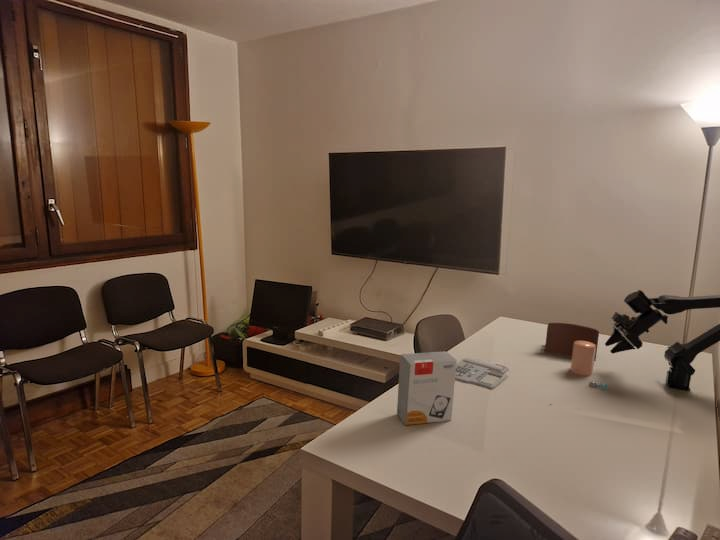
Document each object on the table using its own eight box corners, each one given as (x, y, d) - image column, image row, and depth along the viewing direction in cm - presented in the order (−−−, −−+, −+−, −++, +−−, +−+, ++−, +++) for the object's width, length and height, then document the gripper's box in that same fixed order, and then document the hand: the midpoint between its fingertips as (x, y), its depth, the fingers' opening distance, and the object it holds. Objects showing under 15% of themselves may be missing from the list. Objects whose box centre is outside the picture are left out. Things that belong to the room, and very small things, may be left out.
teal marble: (606, 390, 168) (607, 382, 168) (607, 394, 166) (608, 386, 165) (597, 388, 169) (598, 381, 169) (598, 392, 167) (599, 384, 166)
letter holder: (595, 361, 196) (599, 328, 193) (544, 352, 204) (547, 321, 202) (595, 353, 204) (599, 322, 202) (546, 345, 213) (550, 315, 210)
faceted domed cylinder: (594, 375, 181) (598, 344, 179) (587, 380, 176) (591, 349, 174) (574, 369, 186) (578, 339, 184) (567, 374, 181) (571, 343, 179)
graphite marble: (596, 388, 169) (597, 381, 169) (597, 392, 167) (598, 384, 166) (587, 387, 171) (588, 379, 170) (588, 390, 168) (589, 382, 167)
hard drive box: (404, 426, 140) (408, 363, 136) (396, 414, 148) (398, 353, 144) (452, 420, 145) (457, 359, 141) (441, 408, 152) (445, 349, 148)
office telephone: (467, 353, 195) (515, 365, 184) (467, 359, 196) (515, 372, 184) (441, 369, 177) (492, 385, 165) (440, 376, 178) (492, 392, 166)
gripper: (621, 300, 182) (588, 326, 186) (634, 311, 164) (597, 339, 169) (642, 322, 181) (608, 347, 185) (658, 334, 163) (620, 362, 168)
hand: (608, 348), depth 177 cm, fingers open, 9 cm apart
